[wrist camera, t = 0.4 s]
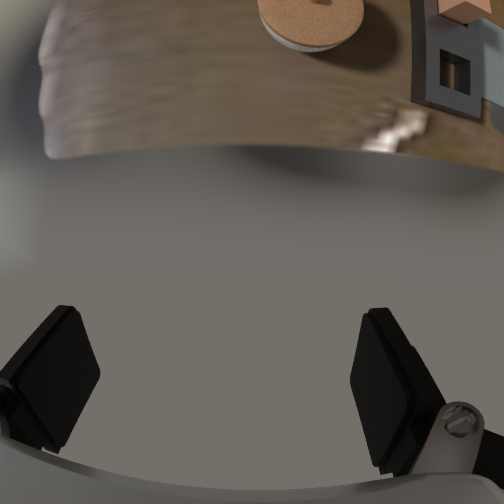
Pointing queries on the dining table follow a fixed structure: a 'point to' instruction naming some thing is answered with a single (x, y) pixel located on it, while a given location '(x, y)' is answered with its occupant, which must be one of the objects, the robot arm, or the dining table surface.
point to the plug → (463, 10)
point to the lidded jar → (311, 22)
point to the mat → (492, 61)
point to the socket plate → (448, 49)
